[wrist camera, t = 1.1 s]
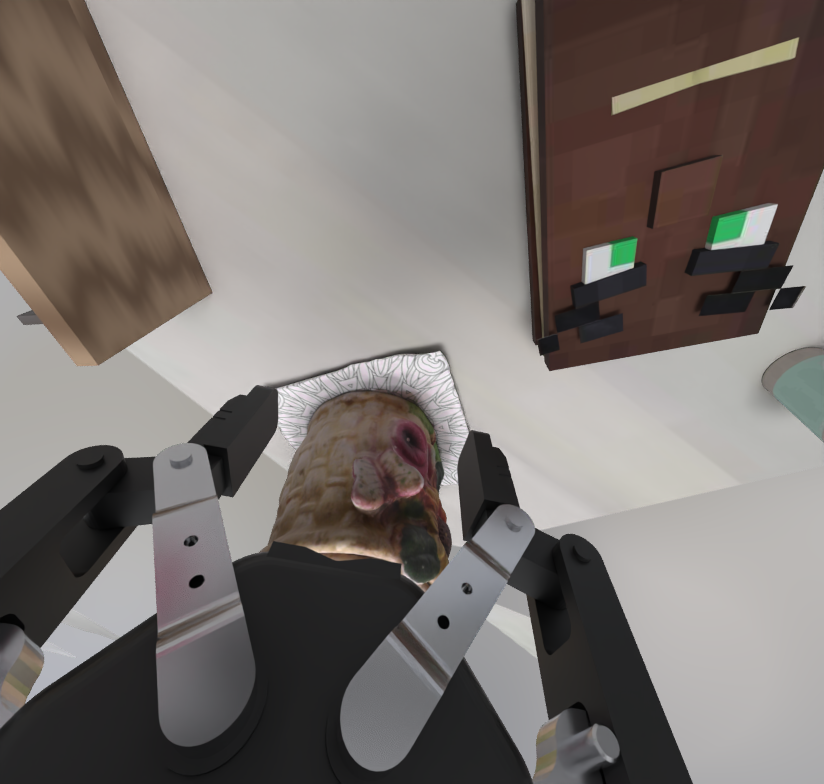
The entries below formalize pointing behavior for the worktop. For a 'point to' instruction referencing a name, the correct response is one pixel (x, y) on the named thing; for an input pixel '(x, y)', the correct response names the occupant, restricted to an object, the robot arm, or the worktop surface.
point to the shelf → (82, 190)
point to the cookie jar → (372, 463)
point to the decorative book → (665, 167)
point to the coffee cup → (800, 386)
